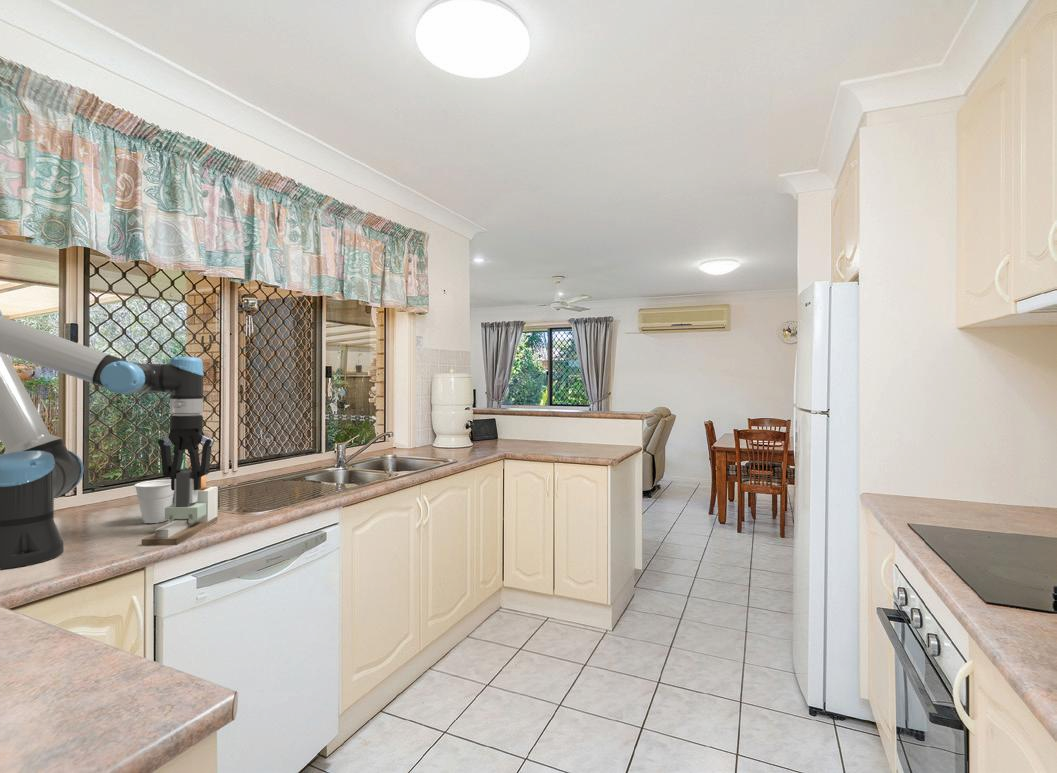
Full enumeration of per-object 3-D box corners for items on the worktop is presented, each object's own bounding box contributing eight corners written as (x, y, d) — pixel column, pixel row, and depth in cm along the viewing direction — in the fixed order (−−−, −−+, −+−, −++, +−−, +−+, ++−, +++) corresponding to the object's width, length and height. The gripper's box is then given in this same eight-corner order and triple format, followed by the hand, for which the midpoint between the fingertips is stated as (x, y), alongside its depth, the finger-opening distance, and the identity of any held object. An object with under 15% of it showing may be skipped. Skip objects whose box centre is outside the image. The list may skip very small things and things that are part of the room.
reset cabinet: (176, 522, 146) (176, 491, 146) (187, 516, 152) (187, 487, 152) (207, 521, 147) (207, 490, 147) (217, 516, 153) (217, 486, 153)
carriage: (164, 523, 140) (165, 473, 140) (174, 519, 145) (175, 470, 145) (197, 523, 141) (197, 473, 141) (206, 518, 146) (206, 470, 146)
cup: (141, 528, 145) (140, 488, 145) (130, 522, 152) (129, 483, 151) (182, 520, 153) (182, 482, 153) (170, 514, 159) (169, 478, 159)
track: (141, 545, 130) (141, 531, 130) (187, 522, 152) (187, 509, 152) (176, 544, 131) (176, 530, 131) (217, 521, 153) (217, 509, 153)
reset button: (186, 494, 147) (186, 476, 147) (193, 491, 151) (193, 473, 151) (201, 493, 148) (201, 475, 148) (208, 490, 152) (208, 473, 152)
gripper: (145, 415, 138) (145, 505, 139) (212, 415, 140) (211, 504, 141) (162, 413, 146) (161, 499, 146) (224, 413, 148) (224, 498, 148)
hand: (186, 502), depth 143 cm, fingers closed on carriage, 3 cm apart
